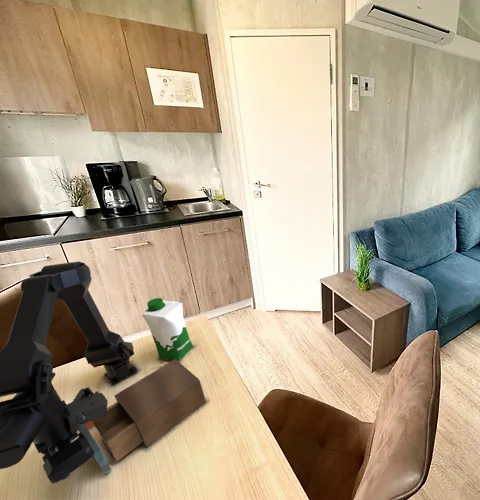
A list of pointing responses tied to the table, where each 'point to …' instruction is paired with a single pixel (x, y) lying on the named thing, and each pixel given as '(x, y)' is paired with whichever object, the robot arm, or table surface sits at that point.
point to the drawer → (113, 435)
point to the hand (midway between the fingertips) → (74, 462)
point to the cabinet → (162, 400)
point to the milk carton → (168, 328)
